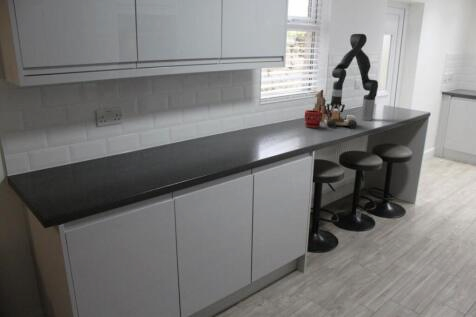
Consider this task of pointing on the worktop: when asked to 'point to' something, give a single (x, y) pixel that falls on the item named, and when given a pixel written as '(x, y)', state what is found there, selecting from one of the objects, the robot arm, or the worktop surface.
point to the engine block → (335, 114)
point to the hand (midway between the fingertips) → (334, 117)
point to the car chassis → (341, 121)
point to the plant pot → (313, 121)
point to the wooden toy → (321, 105)
